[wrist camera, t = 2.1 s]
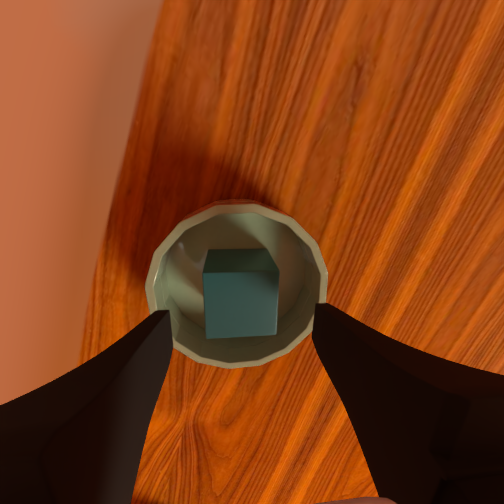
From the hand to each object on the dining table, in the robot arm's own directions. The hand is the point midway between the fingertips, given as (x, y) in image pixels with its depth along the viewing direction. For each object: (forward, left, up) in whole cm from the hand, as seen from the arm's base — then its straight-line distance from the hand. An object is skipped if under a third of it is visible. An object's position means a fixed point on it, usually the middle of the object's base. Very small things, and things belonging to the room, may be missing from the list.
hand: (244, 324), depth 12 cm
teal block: (0, 0, -6) cm, 6 cm away
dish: (0, 0, -6) cm, 6 cm away
